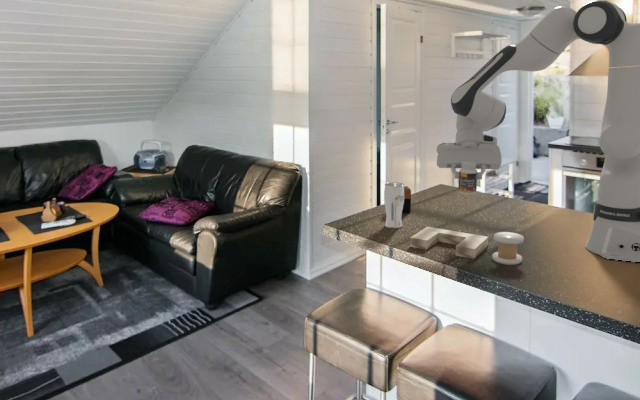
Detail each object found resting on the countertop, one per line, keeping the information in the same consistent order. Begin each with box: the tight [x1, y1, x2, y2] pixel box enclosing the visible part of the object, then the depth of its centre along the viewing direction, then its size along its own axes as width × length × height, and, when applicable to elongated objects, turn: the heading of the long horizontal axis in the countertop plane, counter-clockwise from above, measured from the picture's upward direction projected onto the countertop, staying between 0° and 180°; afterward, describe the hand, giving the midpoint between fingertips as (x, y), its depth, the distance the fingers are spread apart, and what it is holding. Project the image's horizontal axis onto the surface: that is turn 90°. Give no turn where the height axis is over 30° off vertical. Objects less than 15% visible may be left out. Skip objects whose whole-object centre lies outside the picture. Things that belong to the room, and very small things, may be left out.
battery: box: [402, 185, 412, 214], centre depth 194 cm, size 4×7×10 cm, turn 90°
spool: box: [491, 231, 525, 266], centre depth 144 cm, size 8×8×7 cm
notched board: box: [409, 226, 489, 260], centre depth 156 cm, size 20×13×3 cm, turn 55°
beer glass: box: [383, 181, 405, 230], centre depth 176 cm, size 7×7×15 cm
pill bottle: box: [457, 162, 479, 195], centre depth 163 cm, size 6×6×10 cm
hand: (468, 178), depth 162 cm, fingers closed on pill bottle, 6 cm apart
